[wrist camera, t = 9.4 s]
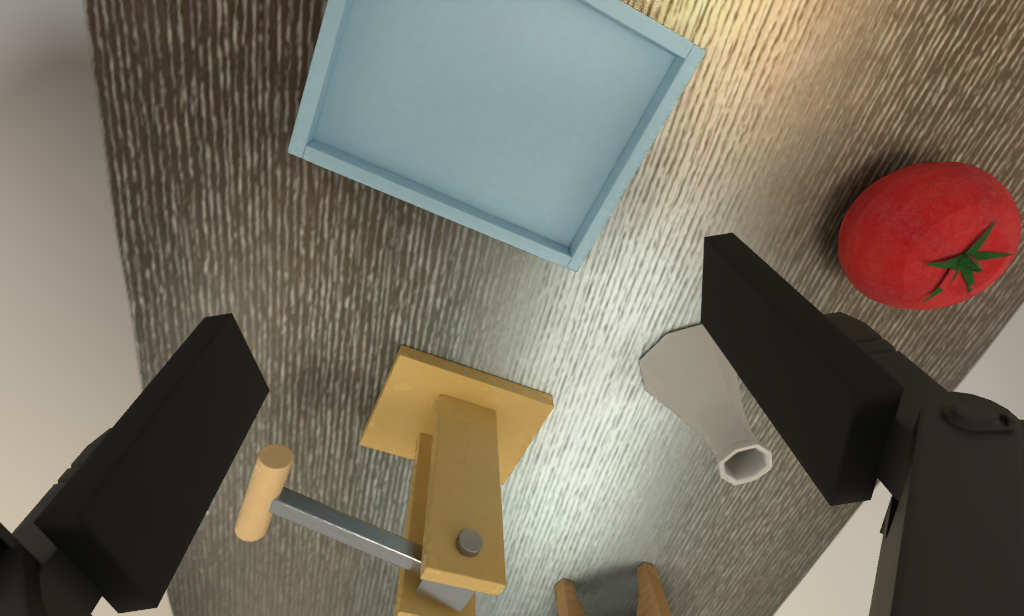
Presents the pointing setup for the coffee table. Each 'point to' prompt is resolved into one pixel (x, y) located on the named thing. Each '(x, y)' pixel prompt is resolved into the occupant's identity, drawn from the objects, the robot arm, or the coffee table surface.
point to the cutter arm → (329, 524)
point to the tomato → (929, 235)
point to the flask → (706, 400)
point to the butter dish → (494, 109)
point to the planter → (651, 601)
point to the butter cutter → (453, 468)
